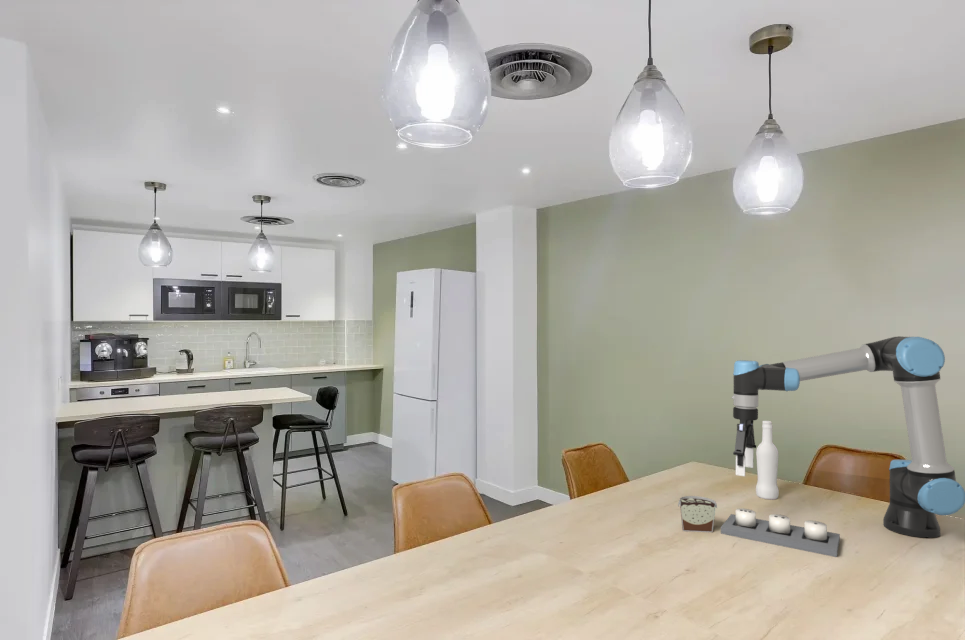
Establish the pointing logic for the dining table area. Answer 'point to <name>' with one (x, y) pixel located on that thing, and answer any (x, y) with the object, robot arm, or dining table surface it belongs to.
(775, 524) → the two dot button
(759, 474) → the bottle
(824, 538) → the one dot button
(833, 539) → the button board
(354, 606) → the dining table surface
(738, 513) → the three dot button
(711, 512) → the food container
